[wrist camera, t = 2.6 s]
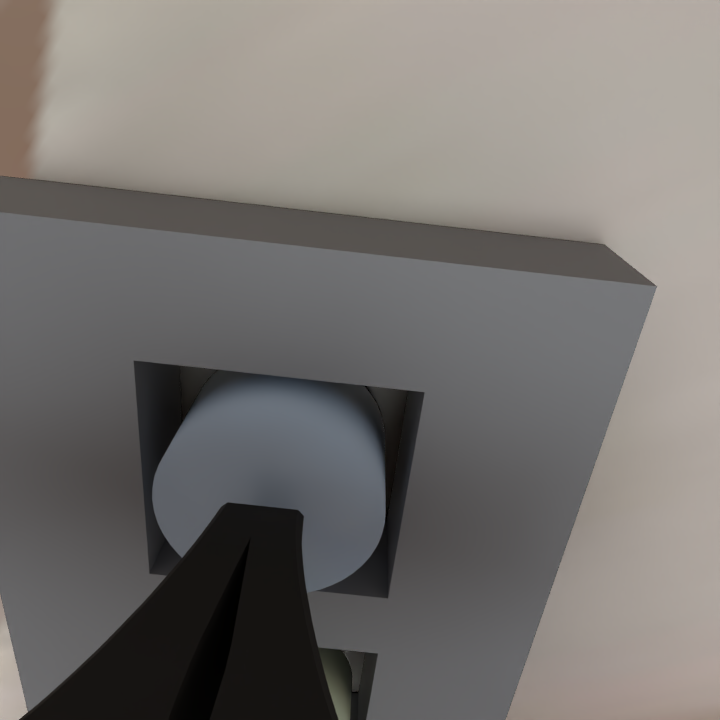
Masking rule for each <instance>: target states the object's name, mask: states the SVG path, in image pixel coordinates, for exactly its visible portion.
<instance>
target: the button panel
mask: <svg viewBox="0 0 720 720" xmlns="http://www.w3.org/2000/svg"><path fill="white" fill-rule="evenodd" d="M656 288H657V286H656V285H654V284H653V283H652V282H651V281H649V280H648V279H647V278H646V277H644V276H643V275H642V274H641V273H639V272H638V271H637V270H636V269H634V268H633V267H632V266H631V265H629V264H628V263H627V262H626V261H624V260H623V259H622V258H621V257H619V256H618V255H617V254H615V253H614V252H613V251H612V250H610V249H609V248H608V247H607V246H605V245H602V244H594V243H585V242H576V241H567V240H559V239H550V238H541V237H532V236H523V235H515V234H506V233H497V232H488V231H480V230H471V229H462V228H453V227H445V226H436V225H427V224H418V223H410V222H401V221H392V220H383V219H375V218H366V217H357V216H348V215H339V214H331V213H322V212H313V211H304V210H296V209H287V208H278V207H269V206H261V205H252V204H243V203H234V202H226V201H217V200H208V199H199V198H191V197H182V196H173V195H164V194H155V193H147V192H138V191H129V190H120V189H112V188H103V187H94V186H85V185H77V184H68V183H59V182H50V181H42V180H33V179H24V178H15V177H6V176H0V594H1V599H2V603H3V608H4V612H5V616H6V620H7V625H8V629H9V633H10V637H11V642H12V646H13V650H14V654H15V659H16V663H17V667H18V671H19V676H20V680H21V684H22V688H23V693H24V697H25V701H26V705H27V710H28V712H29V711H30V710H31V709H33V708H34V707H35V706H36V705H37V704H38V703H40V702H41V701H42V700H43V699H44V698H45V697H47V696H48V695H49V694H50V693H51V692H52V691H53V690H54V689H55V688H57V687H58V686H59V685H60V684H61V683H62V682H63V681H64V680H65V679H67V678H68V677H69V676H70V675H71V674H72V673H73V672H74V671H75V670H76V669H77V668H78V667H80V666H81V665H82V664H83V663H84V662H85V661H86V660H87V659H88V658H89V657H90V656H91V655H92V654H93V653H94V652H95V651H96V650H97V649H98V648H99V647H100V646H101V645H102V644H103V643H104V642H105V641H107V639H108V638H109V637H110V636H111V635H112V634H113V633H114V632H115V631H116V630H117V629H118V628H119V627H120V626H121V625H122V624H123V623H124V622H125V621H126V620H127V619H128V618H129V617H130V616H131V615H132V614H133V613H134V611H135V610H136V609H137V608H138V607H139V606H140V605H141V604H142V603H143V602H144V601H145V600H146V599H147V598H148V597H149V596H150V594H151V593H152V592H153V591H154V590H155V589H156V588H157V586H158V585H159V584H160V583H161V582H162V581H163V580H164V578H165V577H166V576H167V575H168V574H169V573H170V571H171V570H172V569H173V568H174V567H175V566H176V565H177V563H178V562H179V561H180V560H181V559H182V557H181V556H180V555H179V554H178V553H177V552H176V551H175V550H174V549H173V547H172V546H171V545H170V544H169V542H168V541H167V539H166V538H165V536H164V535H163V533H162V531H161V529H160V527H159V525H158V522H157V519H156V516H155V513H154V508H153V501H152V487H153V482H154V477H155V473H156V471H157V468H158V465H159V463H160V461H161V460H162V458H163V456H164V454H165V453H166V451H167V449H168V447H169V445H170V444H171V442H172V440H173V438H174V437H175V435H176V433H177V431H178V430H179V428H180V426H181V424H182V420H181V392H180V366H189V367H199V368H208V369H217V370H226V371H235V372H244V373H253V374H263V375H272V376H281V377H290V378H299V379H308V380H317V381H327V382H336V383H345V384H354V385H363V386H372V387H381V388H391V389H400V390H408V395H407V402H406V408H405V414H404V420H403V426H402V432H401V438H400V444H399V450H398V456H397V463H396V469H395V475H394V481H393V487H392V493H391V499H390V505H389V511H388V517H387V520H386V519H385V524H384V528H383V532H382V536H381V538H380V541H379V543H378V545H377V547H376V549H375V550H374V552H373V553H372V555H371V556H370V557H369V558H368V560H367V561H366V562H365V563H364V564H363V565H362V566H361V567H360V568H359V569H358V570H356V571H355V572H354V573H353V574H351V575H350V576H348V577H347V578H345V579H344V580H342V581H340V582H338V583H335V584H333V585H331V586H329V587H326V588H323V589H320V590H316V591H312V592H308V593H307V596H308V601H309V607H310V612H311V618H312V623H313V627H314V632H315V636H316V641H317V645H318V647H319V648H329V649H338V650H348V651H358V652H365V658H364V664H363V670H362V676H361V682H360V688H359V694H358V693H351V712H350V720H505V719H506V717H507V714H508V711H509V708H510V705H511V702H512V699H513V697H514V694H515V691H516V688H517V685H518V682H519V679H520V677H521V674H522V671H523V668H524V665H525V662H526V659H527V657H528V654H529V651H530V648H531V645H532V642H533V639H534V637H535V634H536V631H537V628H538V625H539V622H540V619H541V617H542V614H543V611H544V608H545V605H546V602H547V599H548V596H549V594H550V591H551V588H552V585H553V582H554V579H555V576H556V574H557V571H558V568H559V565H560V562H561V559H562V556H563V554H564V551H565V548H566V545H567V542H568V539H569V536H570V534H571V531H572V528H573V525H574V522H575V519H576V516H577V514H578V511H579V508H580V505H581V502H582V499H583V496H584V494H585V491H586V488H587V485H588V482H589V479H590V476H591V474H592V471H593V468H594V465H595V462H596V459H597V456H598V454H599V451H600V448H601V445H602V442H603V439H604V436H605V434H606V431H607V428H608V425H609V422H610V419H611V416H612V414H613V411H614V408H615V405H616V402H617V399H618V396H619V394H620V391H621V388H622V385H623V382H624V379H625V376H626V373H627V371H628V368H629V365H630V362H631V359H632V356H633V353H634V351H635V348H636V345H637V342H638V339H639V336H640V333H641V331H642V328H643V325H644V322H645V319H646V316H647V313H648V311H649V308H650V305H651V302H652V299H653V296H654V293H655V291H656Z"/></svg>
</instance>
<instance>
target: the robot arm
mask: <svg viewBox="0 0 720 720" xmlns="http://www.w3.org/2000/svg"><path fill="white" fill-rule="evenodd" d="M303 521H304V516H303V514H302V513H301V512H300V511H299V510H295V509H286V508H276V507H267V506H258V505H248V504H239V503H230V502H227V503H226V504H224V505H223V506H221V507H220V509H219V510H218V512H217V513H216V515H215V516H214V517H213V519H212V520H211V522H210V523H209V524H208V526H207V527H206V528H205V530H204V531H203V532H202V534H201V535H200V536H199V537H198V539H197V540H196V541H195V543H194V544H193V545H192V546H191V548H190V549H189V550H188V551H187V552H186V554H185V555H184V556H183V557H182V559H181V560H180V561H179V562H178V563H177V565H176V566H175V567H174V568H173V569H172V570H171V571H170V573H169V574H168V575H167V576H166V577H165V578H164V580H163V581H162V582H161V583H160V584H159V585H158V586H157V588H156V589H155V590H154V591H153V592H152V593H151V594H150V596H149V597H148V598H147V599H146V600H145V601H144V602H143V603H142V604H141V605H140V606H139V607H138V608H137V609H136V610H135V611H134V613H133V614H132V615H131V616H130V617H129V618H128V619H127V620H126V621H125V622H124V623H123V624H122V625H121V626H120V627H119V628H118V629H117V630H116V631H115V632H114V633H113V634H112V635H111V636H110V637H109V638H108V639H107V641H105V642H104V643H103V644H102V645H101V646H100V647H99V648H98V649H97V650H96V651H95V652H94V653H93V654H92V655H91V656H90V657H89V658H88V659H87V660H86V661H85V662H84V663H83V664H82V665H81V666H80V667H78V668H77V669H76V670H75V671H74V672H73V673H72V674H71V675H70V676H69V677H68V678H67V679H65V680H64V681H63V682H62V683H61V684H60V685H59V686H58V687H57V688H55V689H54V690H53V691H52V692H51V693H50V694H49V695H48V696H47V697H45V698H44V699H43V700H42V701H41V702H40V703H38V704H37V705H36V706H35V707H34V708H33V709H31V710H30V711H29V712H28V713H27V714H25V715H24V716H23V717H22V718H21V719H19V720H339V719H338V716H337V713H336V710H335V707H334V704H333V701H332V697H331V694H330V690H329V687H328V683H327V680H326V676H325V673H324V669H323V665H322V661H321V657H320V653H319V649H318V645H317V641H316V636H315V632H314V627H313V623H312V618H311V612H310V607H309V601H308V596H307V590H306V583H305V576H304V567H303V556H302V534H303Z"/></svg>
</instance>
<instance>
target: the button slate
mask: <svg viewBox="0 0 720 720" xmlns="http://www.w3.org/2000/svg"><path fill="white" fill-rule="evenodd" d="M152 501H153V508H154V513H155V516H156V519H157V522H158V525H159V527H160V529H161V531H162V533H163V535H164V536H165V538H166V539H167V541H168V542H169V544H170V545H171V546H172V547H173V549H174V550H175V551H176V552H177V553H178V554H179V555H180V556H181V557H183V556H184V555H185V554H186V552H187V551H188V550H189V549H190V548H191V546H192V545H193V544H194V543H195V541H196V540H197V539H198V537H199V536H200V535H201V534H202V532H203V531H204V530H205V528H206V527H207V526H208V524H209V523H210V522H211V520H212V519H213V517H214V516H215V515H216V513H217V512H218V510H219V509H220V507H221V506H223V505H224V504H226V503H227V502H230V503H239V504H248V505H258V506H267V507H276V508H286V509H295V510H299V511H300V512H301V513H302V514H303V516H304V521H303V534H302V556H303V567H304V576H305V583H306V590H307V593H308V592H312V591H316V590H320V589H323V588H326V587H329V586H331V585H333V584H335V583H338V582H340V581H342V580H344V579H345V578H347V577H348V576H350V575H351V574H353V573H354V572H355V571H356V570H358V569H359V568H360V567H361V566H362V565H363V564H364V563H365V562H366V561H367V560H368V558H369V557H370V556H371V555H372V553H373V552H374V550H375V549H376V547H377V545H378V543H379V541H380V538H381V536H382V532H383V528H384V524H385V513H386V506H385V431H384V424H383V420H382V416H381V413H380V411H379V408H378V406H377V404H376V402H375V400H374V399H373V397H372V395H371V394H370V393H369V391H368V390H367V389H366V387H365V386H363V385H354V384H345V383H336V382H327V381H317V380H308V379H299V378H290V377H281V376H272V375H263V374H253V373H244V372H235V371H226V370H218V371H217V372H216V373H214V374H213V375H212V376H211V377H210V378H209V380H208V381H207V382H206V383H205V384H204V386H203V387H202V389H201V391H200V392H199V394H198V396H197V398H196V399H195V401H194V403H193V405H192V406H191V408H190V410H189V412H188V414H187V415H186V417H185V419H184V421H183V422H182V424H181V426H180V428H179V430H178V431H177V433H176V435H175V437H174V438H173V440H172V442H171V444H170V445H169V447H168V449H167V451H166V453H165V454H164V456H163V458H162V460H161V461H160V463H159V465H158V468H157V471H156V473H155V477H154V482H153V487H152Z"/></svg>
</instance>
